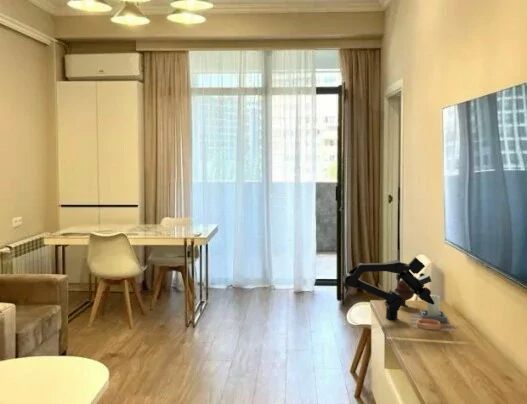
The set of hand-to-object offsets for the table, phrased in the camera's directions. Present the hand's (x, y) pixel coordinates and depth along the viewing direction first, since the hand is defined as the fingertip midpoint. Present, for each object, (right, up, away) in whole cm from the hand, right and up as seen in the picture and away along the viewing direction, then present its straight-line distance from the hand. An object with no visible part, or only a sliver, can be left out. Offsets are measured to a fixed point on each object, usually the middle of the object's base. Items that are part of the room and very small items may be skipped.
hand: (430, 301), depth 303 cm
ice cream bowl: (-8, -7, +25) cm, 27 cm away
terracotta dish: (-5, -10, -12) cm, 16 cm away
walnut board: (-2, -10, -5) cm, 11 cm away
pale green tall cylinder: (+1, -8, +1) cm, 8 cm away
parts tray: (+1, -9, +1) cm, 9 cm away
